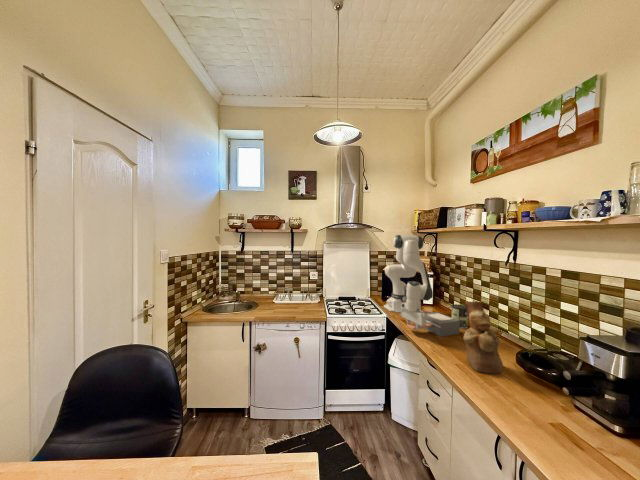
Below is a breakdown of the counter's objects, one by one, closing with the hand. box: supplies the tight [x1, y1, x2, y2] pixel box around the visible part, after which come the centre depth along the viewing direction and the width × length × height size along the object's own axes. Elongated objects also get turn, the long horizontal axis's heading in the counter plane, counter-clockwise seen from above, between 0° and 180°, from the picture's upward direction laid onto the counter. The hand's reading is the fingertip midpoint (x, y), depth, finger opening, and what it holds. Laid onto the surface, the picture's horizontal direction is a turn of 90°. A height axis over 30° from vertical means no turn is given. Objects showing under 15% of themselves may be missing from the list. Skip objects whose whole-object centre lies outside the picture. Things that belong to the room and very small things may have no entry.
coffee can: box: [450, 303, 469, 330], centre depth 176 cm, size 10×10×14 cm
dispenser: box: [422, 311, 461, 338], centre depth 168 cm, size 19×17×9 cm
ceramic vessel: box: [463, 301, 504, 374], centre depth 124 cm, size 16×22×30 cm
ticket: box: [407, 322, 433, 330], centre depth 164 cm, size 6×20×1 cm, turn 110°
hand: (412, 328), depth 161 cm, fingers closed on ticket, 5 cm apart
